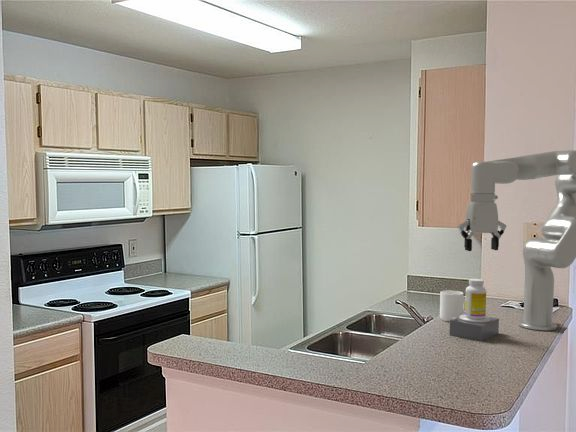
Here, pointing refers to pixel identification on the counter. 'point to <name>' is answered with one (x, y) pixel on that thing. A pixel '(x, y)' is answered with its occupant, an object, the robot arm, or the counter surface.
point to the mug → (451, 304)
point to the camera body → (474, 327)
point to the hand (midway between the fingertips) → (481, 250)
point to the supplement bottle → (475, 300)
